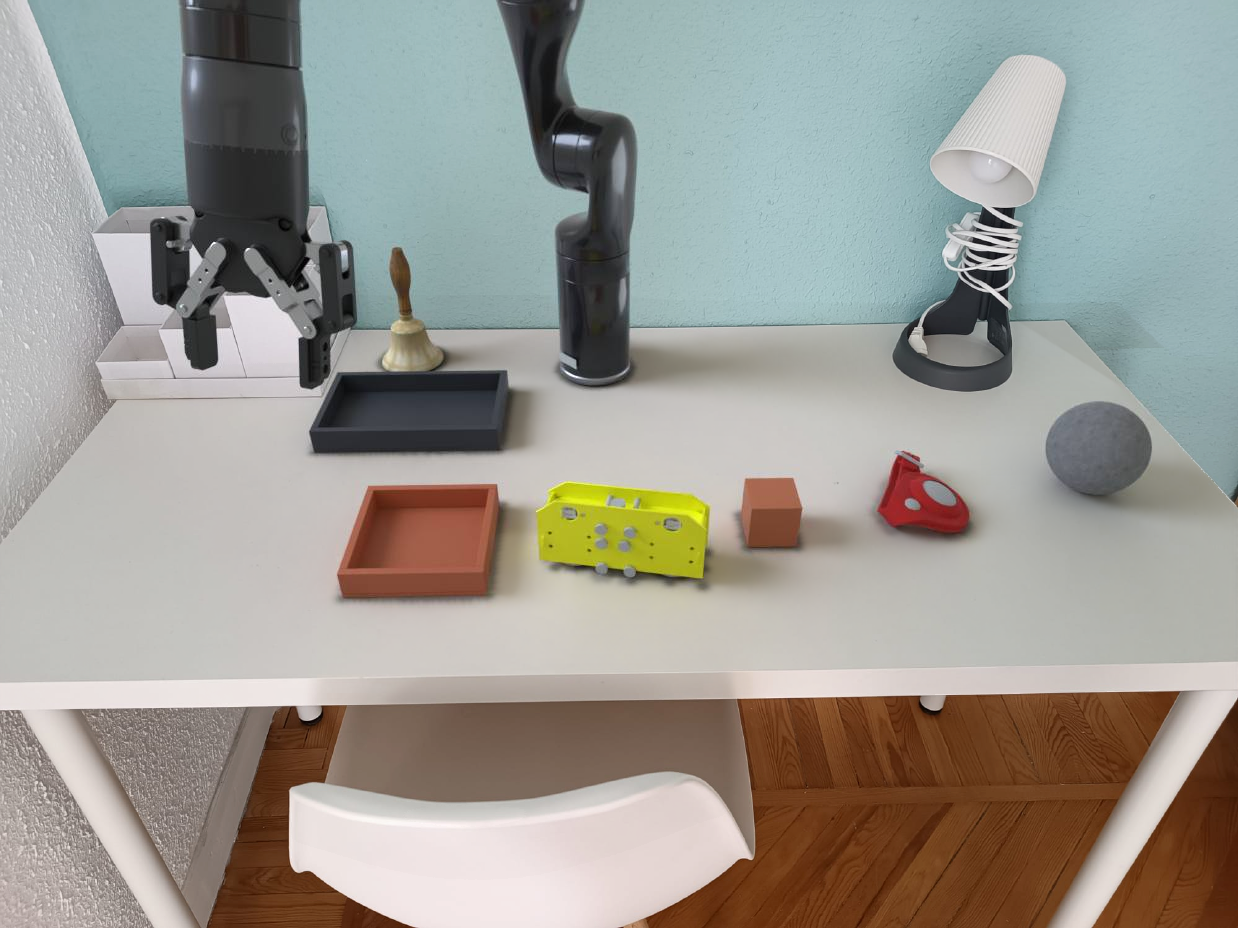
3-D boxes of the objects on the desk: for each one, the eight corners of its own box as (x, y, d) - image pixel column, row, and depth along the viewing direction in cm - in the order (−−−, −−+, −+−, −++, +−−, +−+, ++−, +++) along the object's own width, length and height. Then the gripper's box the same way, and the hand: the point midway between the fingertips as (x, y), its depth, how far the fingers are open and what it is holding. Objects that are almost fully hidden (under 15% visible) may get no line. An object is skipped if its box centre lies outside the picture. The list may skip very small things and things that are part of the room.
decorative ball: (1021, 458, 101) (1046, 383, 95) (1109, 459, 100) (1140, 384, 94) (1053, 512, 92) (1082, 434, 87) (1149, 514, 92) (1185, 436, 86)
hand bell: (396, 343, 124) (378, 235, 114) (452, 348, 122) (438, 239, 113) (372, 372, 117) (350, 259, 108) (430, 378, 116) (413, 264, 106)
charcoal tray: (341, 392, 113) (337, 372, 111) (508, 390, 113) (507, 370, 111) (314, 452, 102) (308, 431, 100) (499, 450, 102) (497, 429, 100)
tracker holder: (993, 512, 91) (935, 528, 85) (969, 541, 93) (911, 558, 88) (913, 435, 97) (855, 445, 92) (893, 464, 100) (835, 475, 94)
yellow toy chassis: (539, 569, 86) (533, 502, 81) (552, 532, 90) (548, 466, 85) (701, 588, 83) (706, 520, 78) (707, 549, 88) (711, 483, 83)
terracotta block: (740, 515, 92) (744, 478, 89) (788, 515, 92) (793, 477, 89) (747, 547, 88) (751, 508, 85) (796, 546, 88) (802, 508, 85)
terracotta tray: (372, 507, 94) (367, 485, 92) (499, 505, 94) (497, 483, 92) (342, 597, 83) (336, 574, 81) (486, 595, 83) (483, 572, 81)
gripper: (375, 151, 59) (373, 379, 65) (187, 126, 61) (202, 349, 67) (317, 153, 52) (321, 408, 58) (108, 125, 55) (133, 373, 61)
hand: (257, 376), depth 63 cm, fingers open, 8 cm apart
